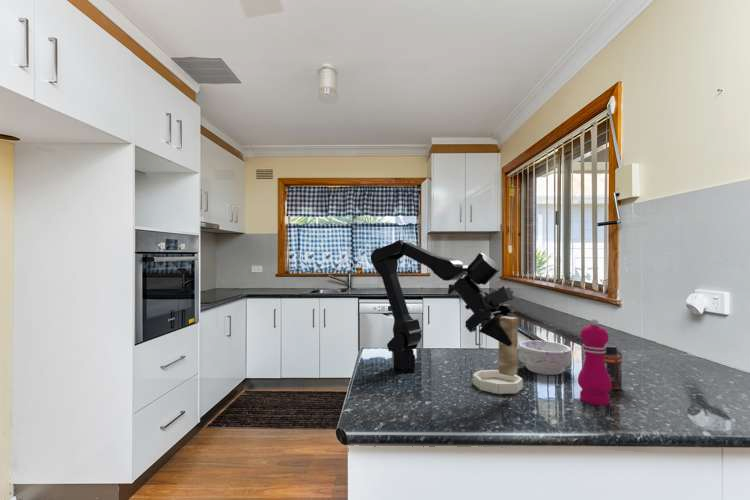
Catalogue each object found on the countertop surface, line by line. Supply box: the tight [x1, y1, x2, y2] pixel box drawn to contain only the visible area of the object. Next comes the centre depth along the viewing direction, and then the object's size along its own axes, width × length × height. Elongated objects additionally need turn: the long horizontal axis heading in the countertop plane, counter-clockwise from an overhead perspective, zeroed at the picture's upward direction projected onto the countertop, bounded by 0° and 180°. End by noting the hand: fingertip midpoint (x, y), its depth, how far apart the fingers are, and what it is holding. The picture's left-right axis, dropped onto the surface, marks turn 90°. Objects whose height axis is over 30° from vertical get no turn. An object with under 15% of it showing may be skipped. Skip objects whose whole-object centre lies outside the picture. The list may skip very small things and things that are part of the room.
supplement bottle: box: [604, 343, 623, 391], centre depth 103 cm, size 6×6×11 cm
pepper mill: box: [577, 318, 612, 407], centre depth 93 cm, size 7×7×20 cm
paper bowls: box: [517, 339, 573, 376], centre depth 118 cm, size 15×15×8 cm
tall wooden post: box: [498, 316, 519, 376], centre depth 96 cm, size 3×3×14 cm
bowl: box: [472, 369, 524, 395], centre depth 103 cm, size 12×12×2 cm
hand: (513, 343), depth 95 cm, fingers closed on tall wooden post, 3 cm apart
